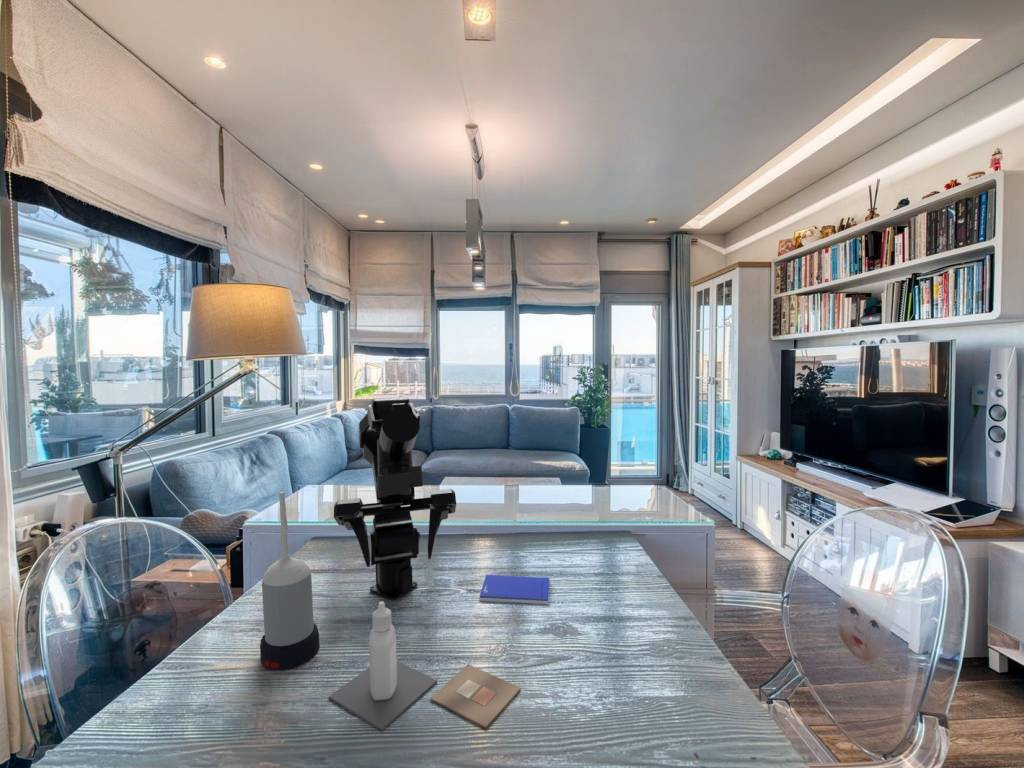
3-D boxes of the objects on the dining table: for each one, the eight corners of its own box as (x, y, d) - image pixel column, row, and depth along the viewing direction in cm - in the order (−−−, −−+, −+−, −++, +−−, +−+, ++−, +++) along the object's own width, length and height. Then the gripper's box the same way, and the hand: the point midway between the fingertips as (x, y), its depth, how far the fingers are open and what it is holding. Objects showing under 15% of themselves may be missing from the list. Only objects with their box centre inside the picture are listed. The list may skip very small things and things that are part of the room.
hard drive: (479, 595, 90) (548, 598, 88) (486, 573, 98) (549, 576, 96) (479, 603, 90) (548, 606, 88) (486, 581, 98) (549, 584, 97)
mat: (328, 698, 65) (328, 696, 65) (386, 657, 74) (386, 655, 74) (381, 730, 60) (381, 728, 60) (437, 682, 68) (436, 680, 68)
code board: (430, 700, 65) (430, 697, 65) (467, 665, 72) (467, 663, 72) (485, 729, 60) (485, 726, 60) (520, 689, 67) (520, 687, 67)
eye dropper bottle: (409, 677, 69) (407, 595, 68) (386, 705, 64) (383, 617, 63) (382, 670, 70) (379, 589, 69) (357, 697, 65) (354, 610, 64)
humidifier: (257, 677, 70) (247, 504, 67) (263, 643, 77) (254, 487, 75) (319, 662, 73) (312, 496, 70) (319, 631, 80) (312, 481, 78)
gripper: (328, 453, 75) (325, 561, 67) (452, 443, 78) (463, 544, 71) (340, 477, 84) (338, 573, 77) (450, 466, 88) (459, 558, 81)
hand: (399, 562), depth 76 cm, fingers open, 9 cm apart
